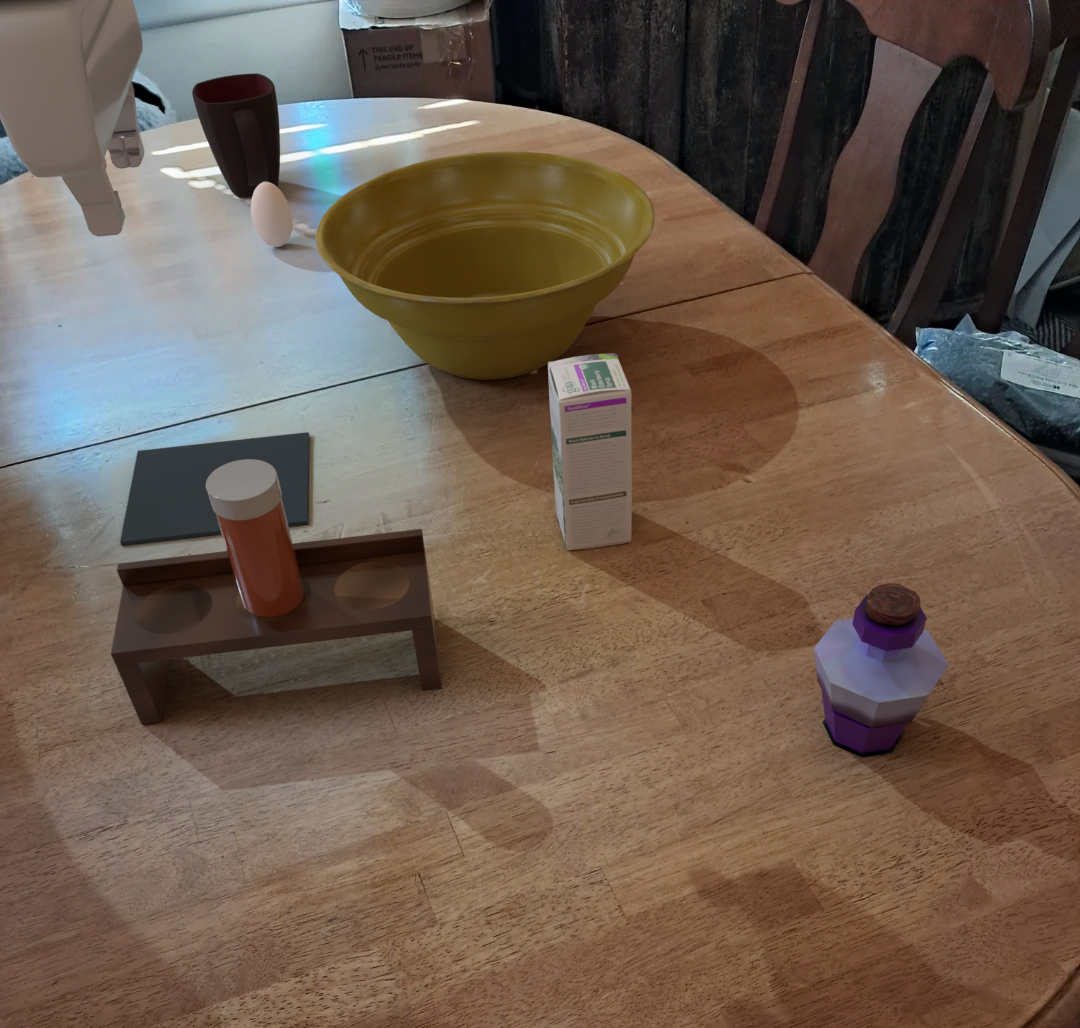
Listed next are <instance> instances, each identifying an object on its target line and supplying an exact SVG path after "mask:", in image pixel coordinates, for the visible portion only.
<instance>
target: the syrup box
mask: <svg viewBox="0 0 1080 1028" xmlns="http://www.w3.org/2000/svg"><path fill="white" fill-rule="evenodd" d="M547 375H548V377H547V378H548V398H549V399H548V401H549V417H550V430H551V431H550V432H551V433H550V434H551V455H552V469H553V471H552V472H553V490H554V503H555V504H554V505H555V506H554V507H555V515H556V518H557V523H558V524H559V528H560V531H561V535H562V539H563V543H564V546H565V549H566V550H567V551H577V550H586V549H595V548H602V547H608V546H616V545H622V544H627V543H628V544H629V543H631V542H632V522H633V521H632V518H633V457H632V456H633V451H632V450H633V449H632V446H633V445H632V443H633V442H632V389H631V387H630V385H629V381H628V379H627V377H626V374H625V372H624V370H623V367H622V364H621V362H620V360H619V357H618V354H617V353H614V352H613V353H595V354H584V355H580V356H579V355H578V356H572V357H568V358H567V357H566V358H563V359H557V360H553V361H551V362H548V364H547Z"/></svg>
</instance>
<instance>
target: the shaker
mask: <svg viewBox="0 0 1080 1028" xmlns="http://www.w3.org/2000/svg"><path fill="white" fill-rule="evenodd" d="M206 490H207V493H208V496H209V499H210V503H211V506H212V509H213V511H214V512H215V514H216V517H217V520H218V524H219V527H220V530H221V534H220V535H221V536H222V540H223V543H224V546H225V551H227V553H228V557H229V560H230V563H231V567H232V570H233V573H234V576H235V580H236V583H237V586H238V590H239V593H240V596H241V599H242V603H243V606H244V607H245V609H246V610H247V611H248V612H250V613H251V614H253V615H256V616H261V617H274V616H279V615H283V614H285V613H288V612H290V611H292V610H293V609H295V608H296V607H297V606H298V605H299V604H300V603H301V601H302V600H303V597H304V593H305V592H304V587H303V583H302V579H301V575H300V571H299V567H298V563H297V559H296V555H295V551H294V547H293V543H294V542H293V540H292V535H291V531H290V526H288V522H287V518H286V514H285V510H284V506H283V502H282V498H281V496H282V492H281V488H280V484H279V480H278V476H277V472H276V470H275V468H274V467H273V466H272V465H270V464H269V463H267V462H264V461H261V460H254V459H245V460H238V461H233V462H230V463H227V464H225V465H223V466H221V467H219V468H217V469H216V470H214V471H213V472H212V473H211V474H210V475H209V477H208V479H207V481H206Z"/></svg>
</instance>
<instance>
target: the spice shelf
mask: <svg viewBox="0 0 1080 1028" xmlns="http://www.w3.org/2000/svg"><path fill="white" fill-rule="evenodd" d="M292 543H293V547H294V551H295V555H296V559H297V563H298V567H299V571H300V575H301V579H302V583H303V587H304V592H305V593H304V597H303V600H302V601H301V603H300V604H299V605H298V606H297V607H296V608H295V609H293V610H292V611H290V612H288V613H285V614H283V615H279V616H274V617H261V616H256V615H253V614H251V613H250V612H248V611H247V610H246V609H245V607H244V606H243V603H242V599H241V596H240V593H239V590H238V586H237V583H236V580H235V576H234V573H233V570H232V567H231V563H230V560H229V557H228V553H227V550H225V551H215V552H206V553H197V554H188V555H180V556H172V557H171V556H170V557H163V558H153V559H146V560H138V561H128V562H119V563H118V564H117V567H116V572H117V575H118V577H119V579H120V582H121V585H122V589H121V595H120V600H119V606H118V611H117V617H116V622H115V628H114V633H113V638H112V643H111V649H110V655H111V658H112V660H113V663H114V665H115V667H116V669H117V671H118V673H119V676H120V679H121V680H122V683H123V685H124V688H125V690H126V692H127V695H128V697H129V699H130V702H131V704H132V707H133V709H134V711H135V713H136V716H137V718H138V720H139V722H140V725H142V726H143V725H152V724H161V723H162V722H163V715H164V707H165V701H166V692H167V686H168V685H167V684H168V678H169V677H168V676H169V669H170V662H171V660H175V659H183V658H185V659H186V658H192V657H199V656H200V657H201V656H209V655H218V654H227V653H233V652H235V653H236V652H241V651H242V652H244V651H249V650H250V651H251V650H252V651H253V650H260V649H267V648H276V647H284V646H293V645H301V644H309V643H318V642H327V641H333V640H334V641H335V640H343V639H350V638H352V639H353V638H360V637H368V636H377V635H385V634H392V633H393V634H395V633H400V632H401V633H403V632H410V631H411V634H412V638H413V646H414V651H415V658H416V664H417V670H418V675H419V681H420V687H421V691H428V690H429V691H430V690H436V689H442V688H443V683H442V673H441V664H440V656H439V655H440V654H439V644H438V636H437V635H438V634H437V625H436V617H435V616H436V615H435V610H434V603H433V595H432V588H431V583H430V576H429V569H428V562H427V553H426V548H425V541H424V534H423V529H422V528H415V529H408V530H399V531H390V532H382V533H372V534H365V535H356V536H348V537H347V536H346V537H337V538H329V539H320V540H312V541H303V542H292Z"/></svg>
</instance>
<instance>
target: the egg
mask: <svg viewBox="0 0 1080 1028" xmlns="http://www.w3.org/2000/svg"><path fill="white" fill-rule="evenodd" d="M250 216H251V217H250V218H251V221H252V225H253V227H254V230H255V232H256V234H257V235H258V237H259V238H260V239H261V240H262V241H263V243H265V244H266V245H268V246H270V247H273V248H280V247H283V246H285V244H287V242H288V241H289V239H290V237H291V236H292V232H293V227H294V226H293V225H294V220H293V214H292V210H291V207H290V204H289V201H288V200H287V198H286V196H285V195H284V193H283V192H282V190H281V189H280V188H279V186H278V187H277V186H275V185H274V184H272V183H270V182H262V183H260V184H259V185H258V186H257V187H256V189H255V190H254V193H253V196H252V197H251V202H250Z"/></svg>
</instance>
